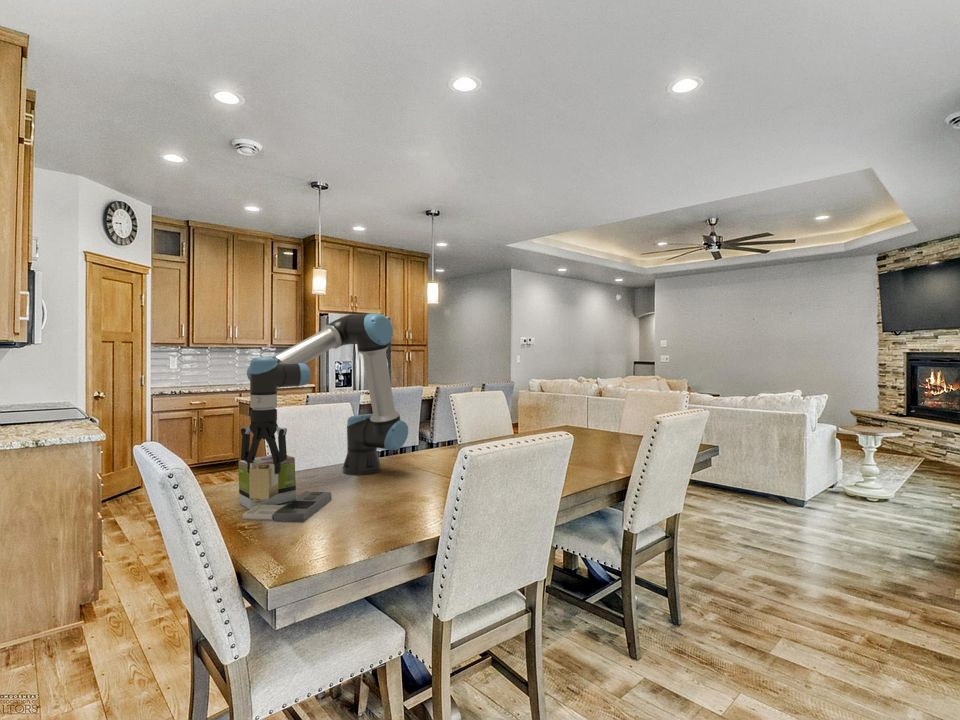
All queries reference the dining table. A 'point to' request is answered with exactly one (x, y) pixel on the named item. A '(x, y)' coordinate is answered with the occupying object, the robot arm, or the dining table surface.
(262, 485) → the brass rectangular block
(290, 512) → the rail
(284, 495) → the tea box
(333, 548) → the dining table surface
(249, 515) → the tray
